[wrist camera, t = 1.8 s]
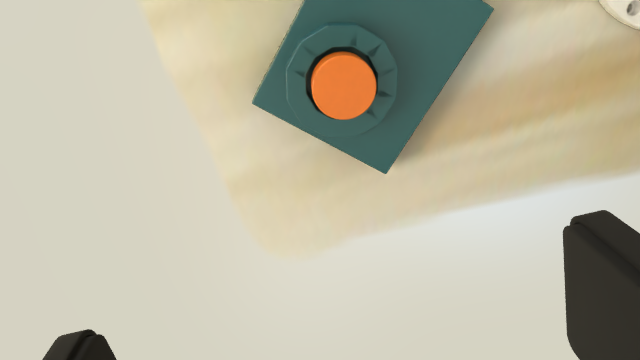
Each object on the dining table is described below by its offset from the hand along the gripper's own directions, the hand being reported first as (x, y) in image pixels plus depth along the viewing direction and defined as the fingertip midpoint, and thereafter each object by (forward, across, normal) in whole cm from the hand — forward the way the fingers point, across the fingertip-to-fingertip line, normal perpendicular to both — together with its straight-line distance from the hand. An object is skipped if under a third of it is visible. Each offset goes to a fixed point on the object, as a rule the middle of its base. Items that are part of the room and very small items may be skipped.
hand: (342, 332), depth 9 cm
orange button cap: (+20, -2, -1) cm, 20 cm away
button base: (+24, -4, -2) cm, 24 cm away
